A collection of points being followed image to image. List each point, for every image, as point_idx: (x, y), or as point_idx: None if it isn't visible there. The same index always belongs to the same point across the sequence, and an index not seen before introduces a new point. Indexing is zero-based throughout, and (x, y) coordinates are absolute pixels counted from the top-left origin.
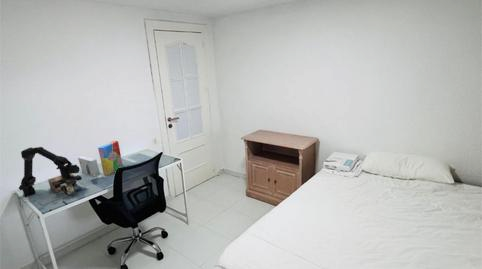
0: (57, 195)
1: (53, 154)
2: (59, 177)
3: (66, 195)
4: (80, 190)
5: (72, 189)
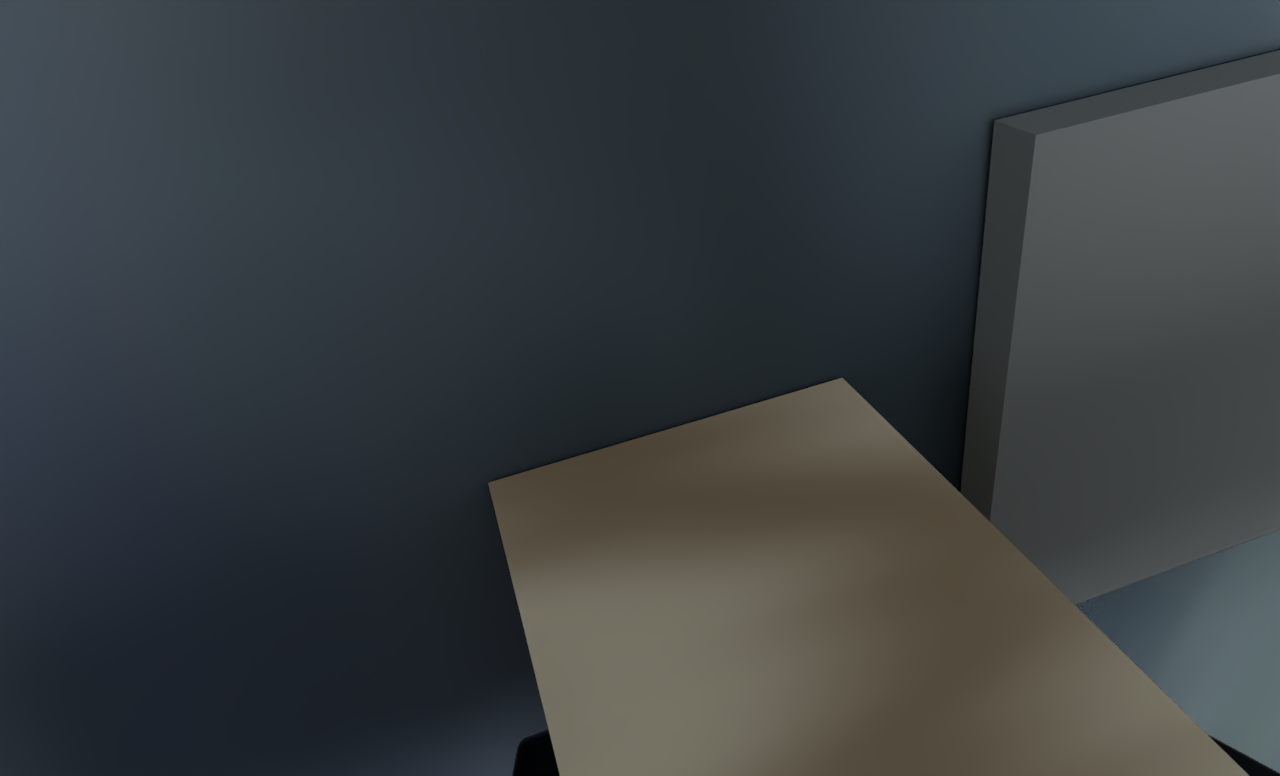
0: (1249, 539)
1: None
2: None
3: (1044, 217)
4: (8, 569)
5: (639, 687)
